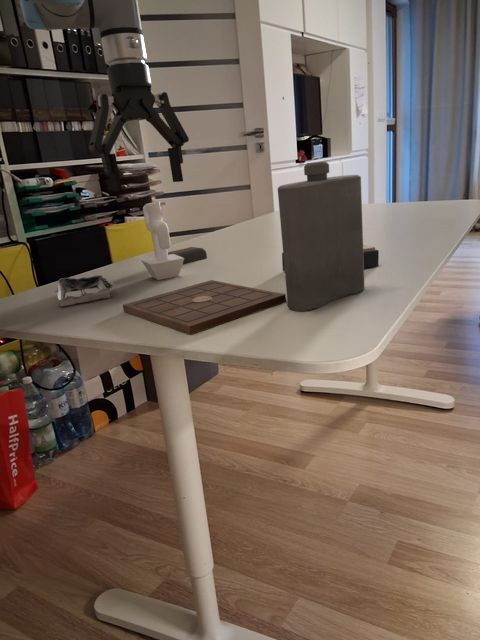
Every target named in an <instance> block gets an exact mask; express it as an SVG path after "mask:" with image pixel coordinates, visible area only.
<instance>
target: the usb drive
mask: <svg viewBox="0 0 480 640" xmlns="http://www.w3.org/2000/svg"><path fill="white" fill-rule="evenodd" d="M170 254H175V255H178V256H180V257H183V258H184V261H183V264H182V265H184V264H189V263H192V262H193V263H194V262H196V261H200V260H205V259H207V258H208V255H207V250H206V249H204V248H203V247H195V246H189V247H185V248H181V249H176V250H173V251H168V255H170Z"/></svg>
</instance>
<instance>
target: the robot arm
mask: <svg viewBox="0 0 480 640" xmlns="http://www.w3.org/2000/svg"><path fill="white" fill-rule="evenodd" d="M19 5H20V8H21V9H20V10H21V13H22V17H23V20H24V23H25V25H26V27H27V28H29V29H30V30H40V31H41V30H44V31H48V32H50V31H53V30H78V29H98V31H99V36H100V37H99V38H100V41H101V47H102V52H103V57H104V62H105V64H106V65H107V66H108V67H107V68H106V73H107V78H108V83H109V84H108V85H109V88H110V91H111V95H108V94H107V93H102V94H99V95H97V96H96V97H95V103H96V113H95V117H94V122H93V126H92V130H91V131H92V132H91V135H90V139H89V145H88V150H89V151H90V152H92V153H93V152H94V153H97V154H98V155H99V156H100V159H101V162H102V168H103V171H104V173H105V174H108V176H109V181H110V186H111V191H112V192H120V191H123V186H122V181H121V176H120V171H119V165H118V160H117V156H116V153H111V152H112V150H113V148H114V146H115V144H116V141H117V140H118V137H119V135H120V133H121V132H122V129H123V128H124V125H125V124H126V123H127V122H132V121H144V120H145V121H146V122H148V123H149V124H151V126H152V127H153V128H154V129H155V131H156V132H158V133H159V135H160V136H161V137H162V138H163V139H164V140H165V141H166V142H167V144H168V145H169V146H170V147H168V148H167V153H168V160H169V166H170V172H171V178H172V182H173V183H182V182H184V178H183V176H184V175H183V170H182V165H181V164H183V163H184V157H183V151H182V147H183V146H184V145H185V143H188V142H189V141H190V140H189V139H190V138H189V136H188V135H187V132H186V131H185V128H184V127H183V125H182V123H181V122H180V120H179V118H178V116H177V114H176V112H175V111H174V109H173V107H172V105H171V101H170V98H169V95H168V93H167V92H166V91H163V92H160V93H156V94H154V93H153V91H152V79H151V71H150V66H149V65H148V64H147V63H146V62H147V60H148V57H147V51H146V44H145V40H144V39H145V38H144V33H143V28H142V21H141V14H140V7H139V1H138V0H19ZM154 105H155V106H157V107H158V110H159V111H160V113H161V115H162V116H163V119H164V120H165V121H164V120H163V119H162V118H161V116H160V113H159V112H158V111H157V110H156V109H155V107H154ZM112 106H113V107H114V108H115V109H116V113H115V114H114V116H113V118H112V122H111V124H110V126H109V128H108V130H107V132H106V134H105V130H106V125H107V121H108V116H109V112H110V111H109V110H110V109H111V107H112ZM104 135H105V136H104Z"/></svg>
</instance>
